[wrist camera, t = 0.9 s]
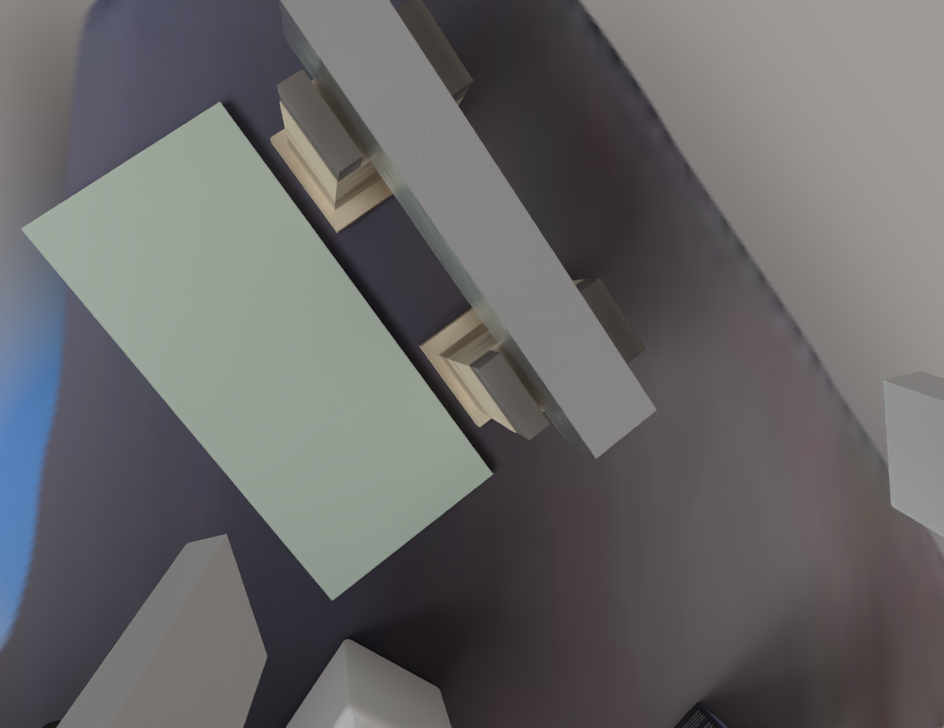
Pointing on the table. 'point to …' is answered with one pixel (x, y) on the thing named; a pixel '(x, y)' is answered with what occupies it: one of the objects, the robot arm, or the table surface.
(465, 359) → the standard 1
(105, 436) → the table surface
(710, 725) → the small box
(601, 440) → the rail
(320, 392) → the mat
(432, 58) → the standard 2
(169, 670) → the robot arm
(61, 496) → the table surface
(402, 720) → the medicine bottle
